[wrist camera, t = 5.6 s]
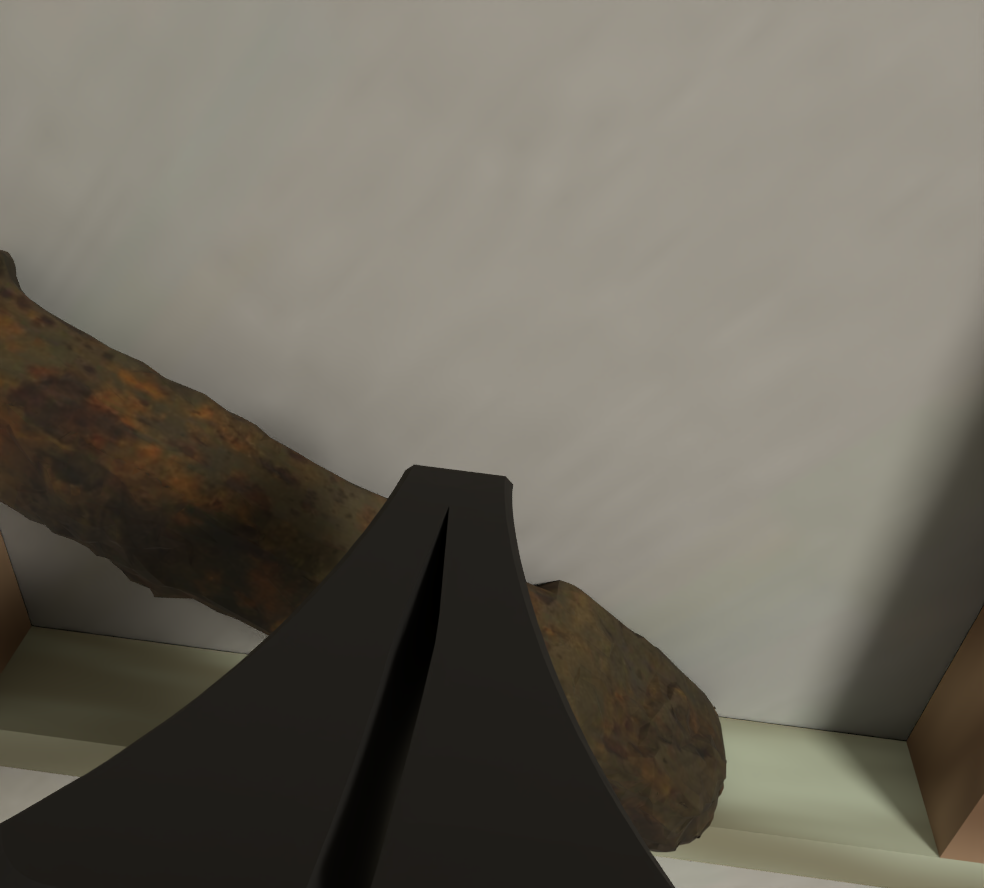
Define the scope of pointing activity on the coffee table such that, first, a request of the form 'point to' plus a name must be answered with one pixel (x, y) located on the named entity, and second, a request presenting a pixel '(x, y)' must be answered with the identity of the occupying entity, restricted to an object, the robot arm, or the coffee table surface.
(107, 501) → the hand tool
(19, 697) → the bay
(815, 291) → the coffee table surface
